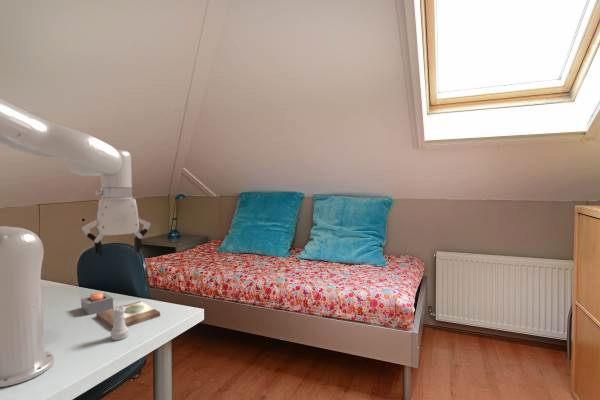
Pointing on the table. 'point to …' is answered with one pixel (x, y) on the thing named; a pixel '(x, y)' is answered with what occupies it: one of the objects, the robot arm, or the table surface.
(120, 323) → the rook chess piece
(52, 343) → the table surface
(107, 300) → the button base
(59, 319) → the table surface
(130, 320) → the board
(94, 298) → the button
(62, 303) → the table surface
